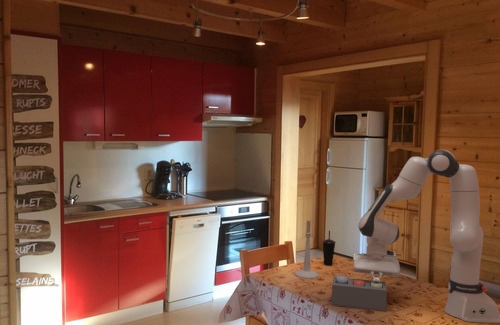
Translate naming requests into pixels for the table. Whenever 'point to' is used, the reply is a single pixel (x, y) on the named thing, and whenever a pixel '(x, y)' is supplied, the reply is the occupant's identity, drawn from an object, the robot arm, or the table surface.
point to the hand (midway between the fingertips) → (376, 282)
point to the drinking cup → (328, 251)
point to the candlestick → (307, 259)
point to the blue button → (341, 279)
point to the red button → (359, 282)
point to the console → (359, 295)
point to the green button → (376, 284)
